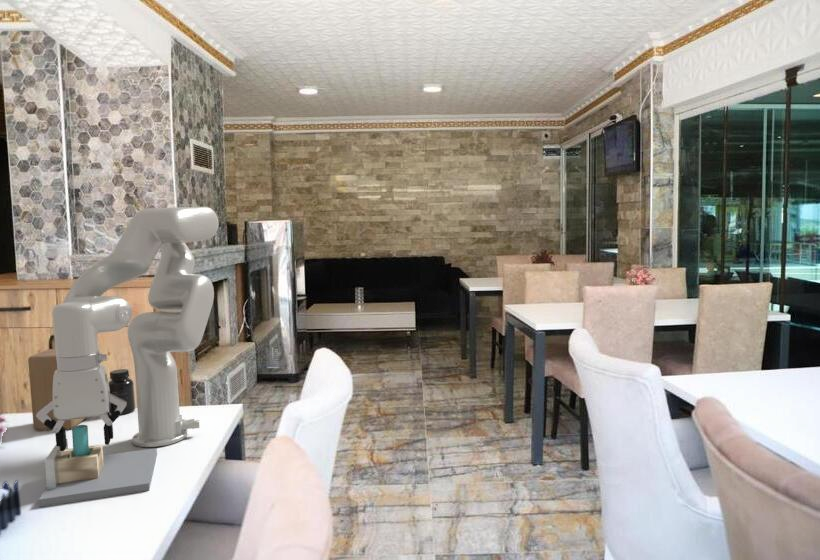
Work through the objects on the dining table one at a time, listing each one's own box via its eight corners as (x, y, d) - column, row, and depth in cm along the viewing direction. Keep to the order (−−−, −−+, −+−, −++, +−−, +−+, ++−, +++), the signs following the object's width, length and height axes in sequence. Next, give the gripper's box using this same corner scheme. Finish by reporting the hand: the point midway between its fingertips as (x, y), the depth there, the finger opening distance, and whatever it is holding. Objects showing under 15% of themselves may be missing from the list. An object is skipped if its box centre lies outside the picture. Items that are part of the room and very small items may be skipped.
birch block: (103, 464, 126) (102, 444, 126) (98, 477, 120) (96, 456, 119) (66, 469, 124) (65, 449, 124) (58, 483, 117) (57, 461, 117)
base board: (157, 454, 136) (156, 448, 136) (149, 490, 117) (148, 483, 117) (63, 467, 130) (63, 460, 130) (39, 507, 111) (38, 499, 111)
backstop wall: (69, 465, 126) (67, 438, 126) (56, 488, 115) (53, 459, 115) (61, 466, 126) (59, 439, 125) (47, 490, 115) (44, 460, 114)
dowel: (91, 470, 124) (88, 424, 123) (88, 475, 121) (86, 428, 120) (76, 471, 123) (73, 425, 122) (73, 477, 120) (70, 430, 119)
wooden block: (52, 419, 163) (46, 348, 161) (89, 417, 164) (84, 347, 162) (32, 432, 153) (26, 356, 151) (72, 430, 154) (66, 355, 152)
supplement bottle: (109, 410, 170) (106, 369, 169) (135, 407, 173) (133, 367, 172) (108, 417, 164) (105, 375, 163) (134, 413, 167) (132, 372, 166)
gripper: (127, 354, 127) (133, 433, 128) (33, 363, 120) (41, 446, 122) (123, 361, 120) (130, 445, 122) (24, 372, 113) (32, 459, 115)
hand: (85, 445), depth 122 cm, fingers open, 7 cm apart
